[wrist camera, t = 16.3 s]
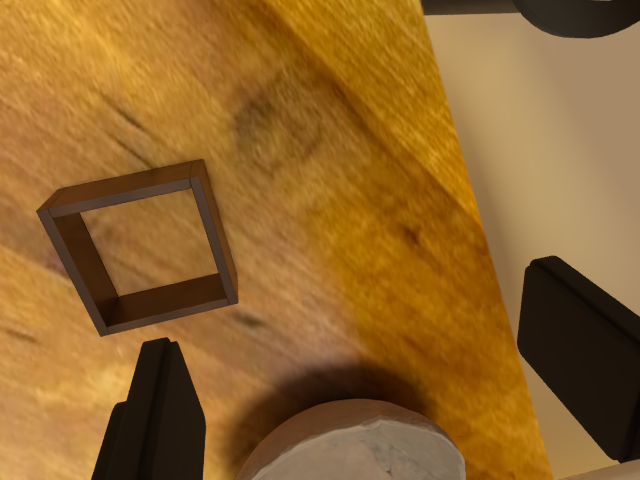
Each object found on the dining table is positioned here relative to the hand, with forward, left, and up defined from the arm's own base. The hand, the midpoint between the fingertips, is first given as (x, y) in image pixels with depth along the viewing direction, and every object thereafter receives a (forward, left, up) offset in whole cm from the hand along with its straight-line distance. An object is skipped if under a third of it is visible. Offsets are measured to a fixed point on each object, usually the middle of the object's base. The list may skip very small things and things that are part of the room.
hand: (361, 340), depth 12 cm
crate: (+12, +7, -27) cm, 31 cm away
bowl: (+1, +38, -28) cm, 47 cm away
